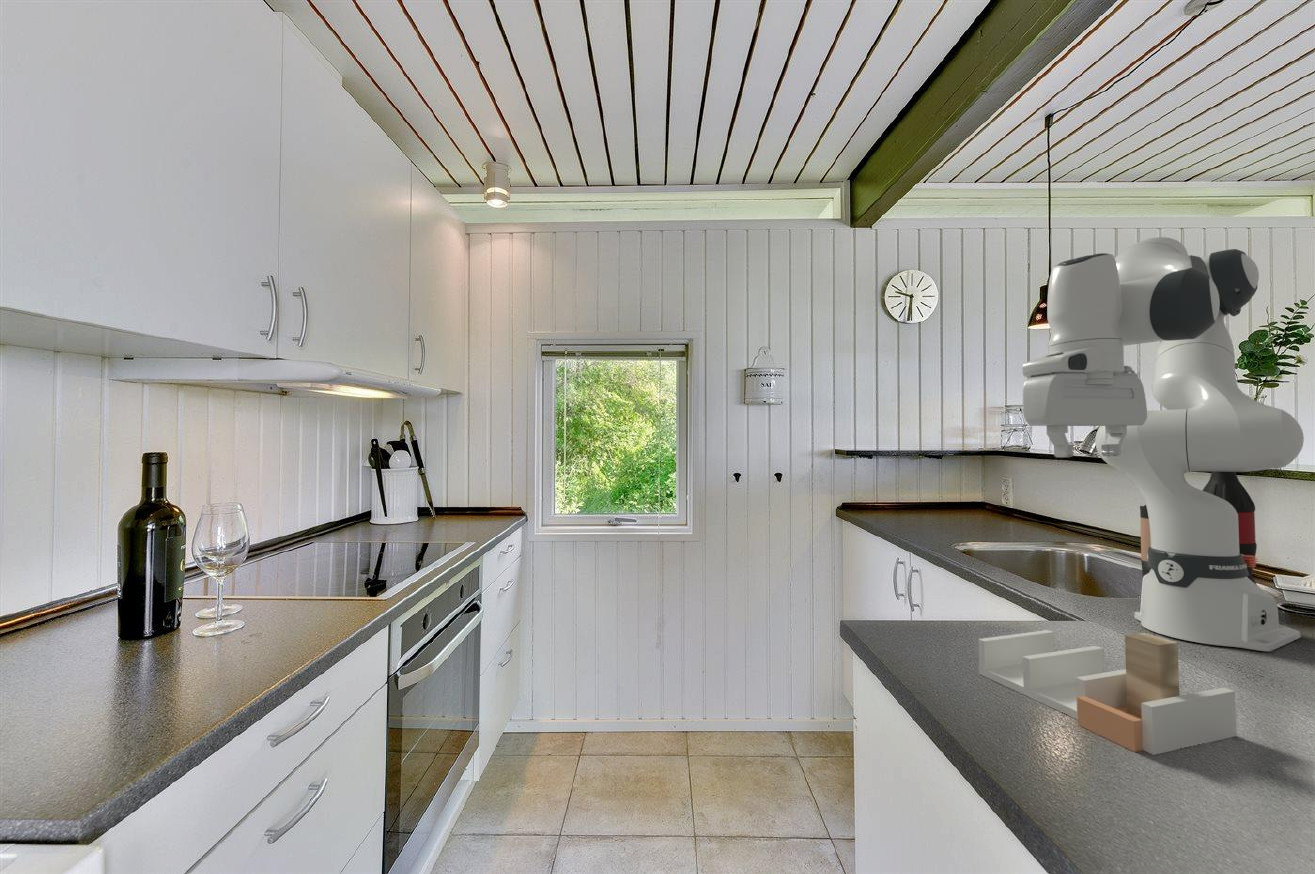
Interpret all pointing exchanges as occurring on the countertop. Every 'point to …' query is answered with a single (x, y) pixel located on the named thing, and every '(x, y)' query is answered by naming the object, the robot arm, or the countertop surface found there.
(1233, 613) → the robot arm
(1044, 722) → the countertop surface
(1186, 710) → the rack
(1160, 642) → the block
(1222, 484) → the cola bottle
